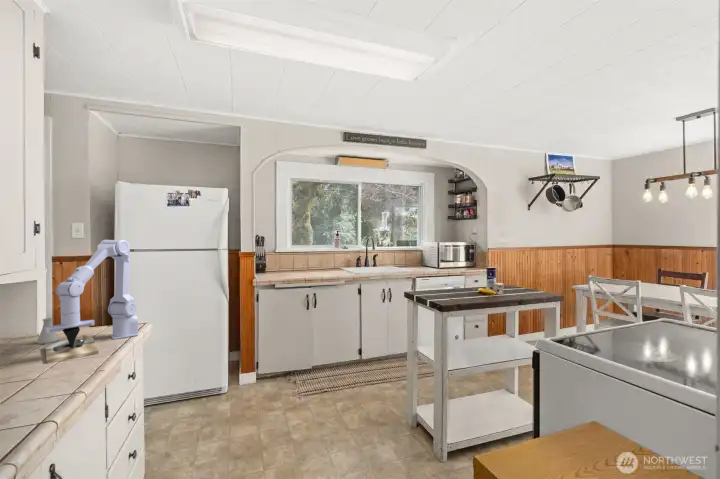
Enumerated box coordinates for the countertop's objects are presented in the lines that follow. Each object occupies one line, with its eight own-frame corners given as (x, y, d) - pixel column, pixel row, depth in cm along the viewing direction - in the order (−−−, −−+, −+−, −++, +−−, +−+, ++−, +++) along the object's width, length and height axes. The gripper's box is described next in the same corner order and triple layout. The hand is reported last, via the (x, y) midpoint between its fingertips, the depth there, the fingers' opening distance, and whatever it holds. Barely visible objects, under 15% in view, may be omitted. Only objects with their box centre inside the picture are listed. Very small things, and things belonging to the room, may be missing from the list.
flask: (48, 344, 146) (48, 320, 145) (31, 344, 146) (31, 320, 146) (63, 339, 153) (63, 316, 153) (47, 339, 153) (47, 316, 153)
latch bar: (79, 342, 142) (79, 338, 142) (86, 342, 141) (86, 338, 141) (51, 351, 131) (51, 347, 131) (59, 352, 130) (59, 347, 130)
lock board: (91, 340, 152) (91, 331, 151) (98, 353, 135) (98, 343, 135) (45, 348, 141) (45, 338, 141) (46, 363, 125) (46, 352, 125)
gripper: (90, 307, 142) (91, 340, 143) (43, 314, 131) (44, 350, 132) (95, 310, 138) (96, 344, 138) (47, 317, 127) (47, 354, 127)
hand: (71, 347), depth 135 cm, fingers closed, pressing on latch bar
